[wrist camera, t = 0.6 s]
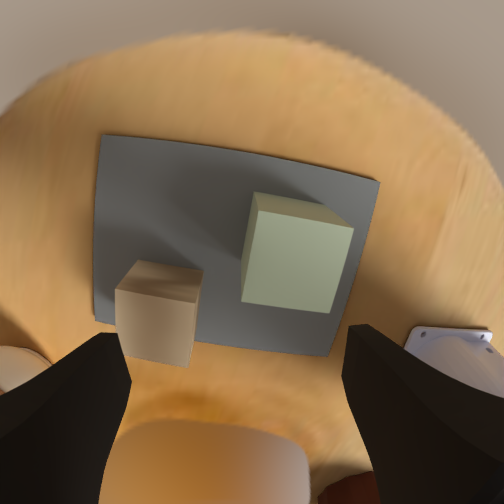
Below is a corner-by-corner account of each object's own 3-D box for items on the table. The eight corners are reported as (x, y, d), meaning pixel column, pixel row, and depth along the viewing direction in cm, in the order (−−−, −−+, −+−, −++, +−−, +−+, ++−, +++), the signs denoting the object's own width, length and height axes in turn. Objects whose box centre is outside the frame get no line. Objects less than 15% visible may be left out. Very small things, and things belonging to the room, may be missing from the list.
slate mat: (377, 181, 18) (380, 182, 17) (326, 353, 21) (327, 356, 21) (104, 134, 16) (101, 134, 16) (97, 317, 20) (95, 320, 20)
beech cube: (203, 270, 19) (195, 303, 15) (196, 328, 20) (188, 367, 16) (138, 259, 18) (115, 288, 15) (136, 317, 20) (116, 353, 16)
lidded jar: (47, 314, 20) (-22, 394, 11) (109, 417, 23) (78, 502, 15) (-25, 330, 21) (-81, 388, 12) (31, 416, 24) (-4, 480, 15)
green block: (324, 204, 18) (354, 228, 13) (308, 271, 19) (329, 313, 14) (253, 191, 17) (258, 210, 13) (241, 260, 19) (241, 301, 14)
